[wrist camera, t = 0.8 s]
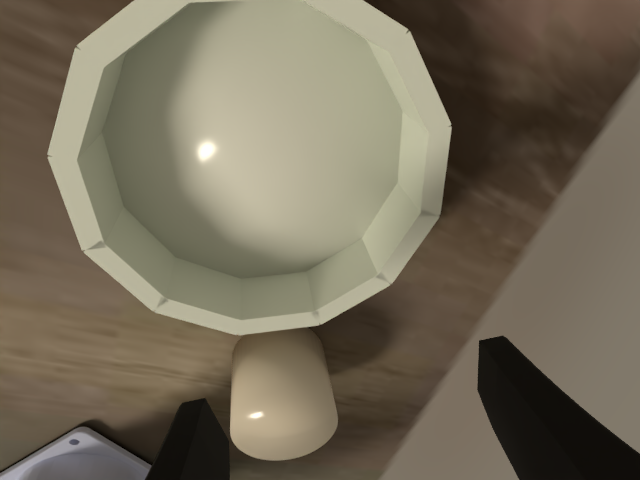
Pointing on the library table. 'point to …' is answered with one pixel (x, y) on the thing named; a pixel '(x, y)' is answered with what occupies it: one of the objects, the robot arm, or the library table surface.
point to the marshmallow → (281, 395)
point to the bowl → (250, 157)
